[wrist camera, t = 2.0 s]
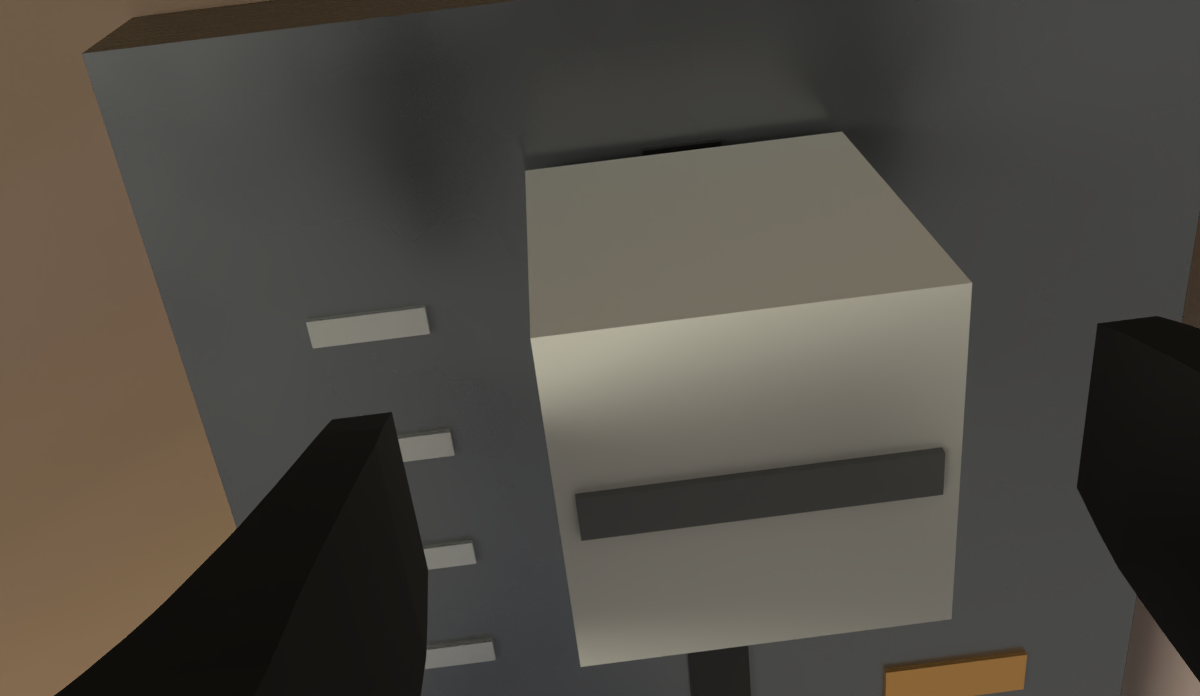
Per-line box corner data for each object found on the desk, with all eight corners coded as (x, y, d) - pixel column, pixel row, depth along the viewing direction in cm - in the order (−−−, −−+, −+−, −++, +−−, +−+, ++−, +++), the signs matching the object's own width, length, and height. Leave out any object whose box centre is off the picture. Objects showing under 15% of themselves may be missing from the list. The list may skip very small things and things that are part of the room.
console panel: (1055, 729, 23) (1103, 816, 21) (372, 818, 23) (360, 913, 21) (1163, -108, 15) (1254, -89, 13) (132, 17, 15) (78, 55, 13)
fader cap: (842, 402, 16) (954, 625, 12) (563, 437, 16) (581, 673, 12) (841, 131, 14) (976, 287, 10) (524, 171, 14) (531, 343, 10)
